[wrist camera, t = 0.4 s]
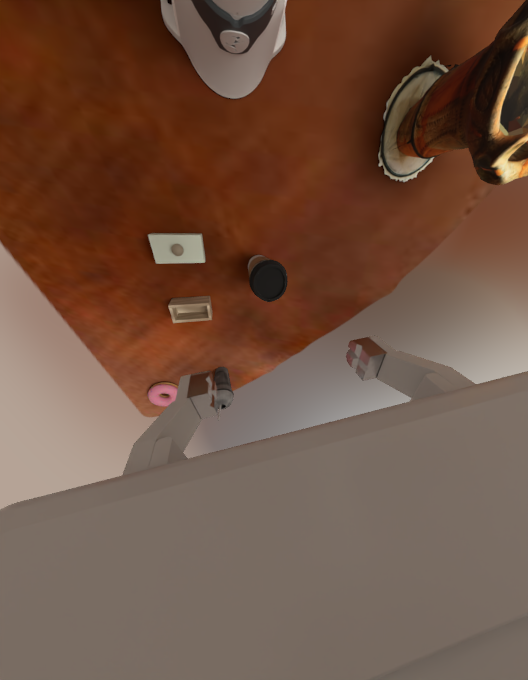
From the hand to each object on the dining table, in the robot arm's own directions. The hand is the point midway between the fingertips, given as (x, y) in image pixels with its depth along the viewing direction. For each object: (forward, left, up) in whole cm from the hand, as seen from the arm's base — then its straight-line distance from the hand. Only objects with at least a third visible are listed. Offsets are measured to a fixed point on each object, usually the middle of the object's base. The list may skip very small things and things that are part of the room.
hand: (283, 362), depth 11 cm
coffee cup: (+5, +7, -45) cm, 46 cm away
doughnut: (+48, -29, -45) cm, 72 cm away
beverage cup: (+42, -8, -45) cm, 62 cm away
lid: (0, -13, -45) cm, 47 cm away
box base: (+15, -12, -45) cm, 49 cm away
